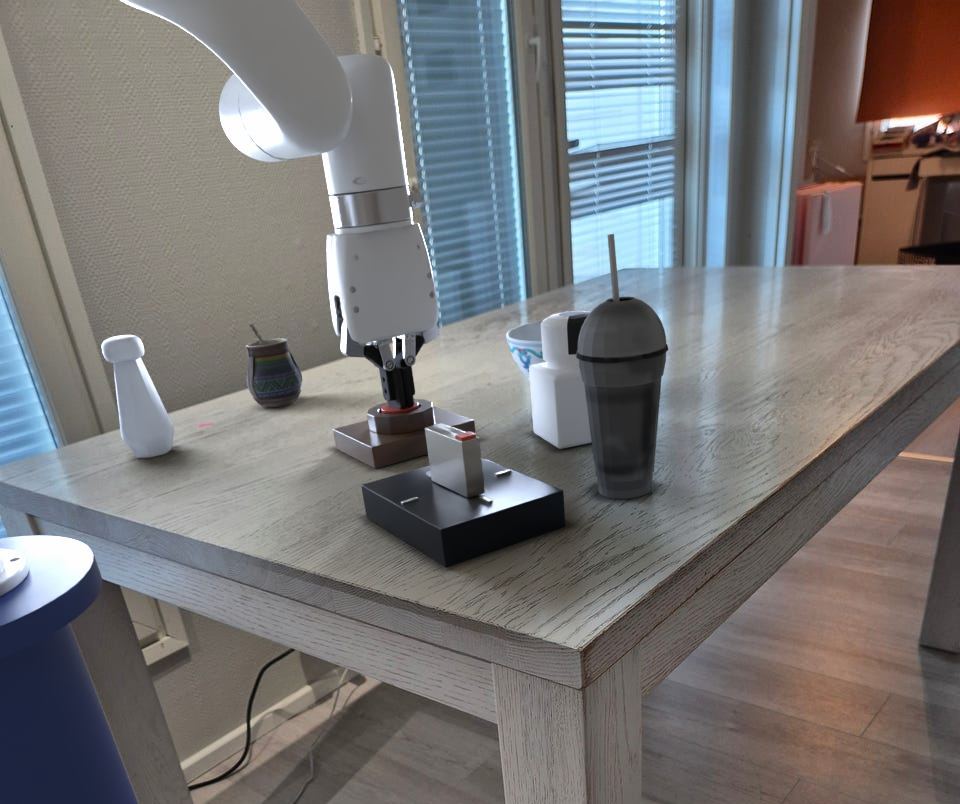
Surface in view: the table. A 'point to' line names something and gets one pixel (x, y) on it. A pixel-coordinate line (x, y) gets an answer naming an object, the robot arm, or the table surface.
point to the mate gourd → (272, 372)
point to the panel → (463, 512)
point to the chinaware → (526, 345)
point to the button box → (395, 433)
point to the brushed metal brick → (455, 459)
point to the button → (393, 410)
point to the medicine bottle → (560, 383)
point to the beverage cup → (622, 388)
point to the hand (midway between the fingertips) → (400, 405)
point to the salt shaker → (138, 399)
